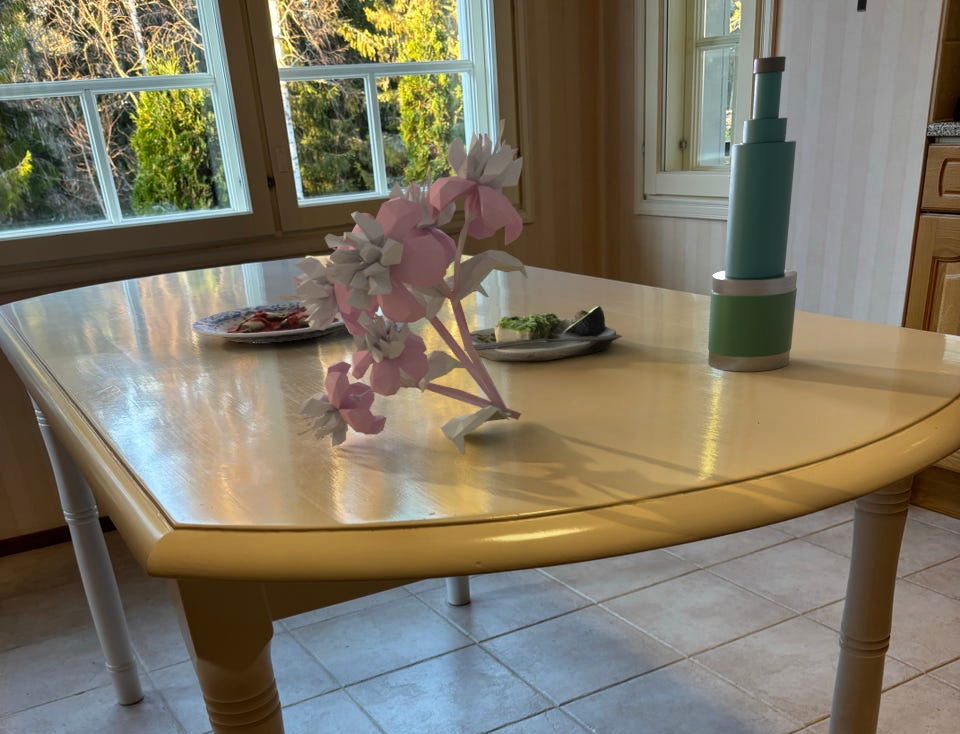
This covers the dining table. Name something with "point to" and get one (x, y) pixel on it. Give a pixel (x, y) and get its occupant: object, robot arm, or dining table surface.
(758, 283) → the tin
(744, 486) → the dining table surface
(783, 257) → the bottle
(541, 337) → the salad plate
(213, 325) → the ceramic plate
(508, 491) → the dining table surface
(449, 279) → the flower
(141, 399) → the dining table surface
